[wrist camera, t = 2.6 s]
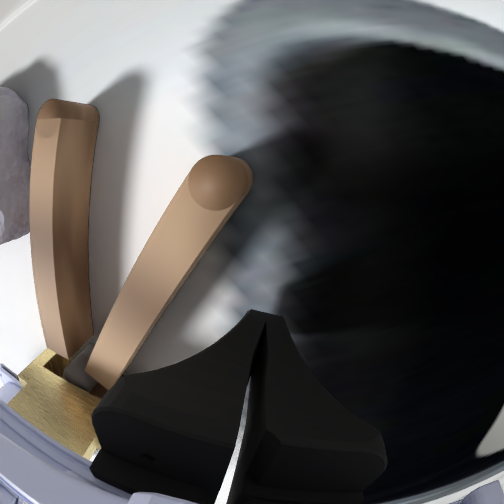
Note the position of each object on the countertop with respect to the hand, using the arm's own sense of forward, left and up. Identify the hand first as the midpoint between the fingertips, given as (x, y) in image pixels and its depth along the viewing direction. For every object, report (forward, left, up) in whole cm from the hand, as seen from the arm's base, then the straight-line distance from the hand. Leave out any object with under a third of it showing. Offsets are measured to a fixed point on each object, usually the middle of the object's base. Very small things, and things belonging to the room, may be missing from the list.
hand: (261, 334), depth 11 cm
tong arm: (+1, +4, -1) cm, 5 cm away
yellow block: (-7, +8, -1) cm, 11 cm away
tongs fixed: (-1, +9, -1) cm, 9 cm away
